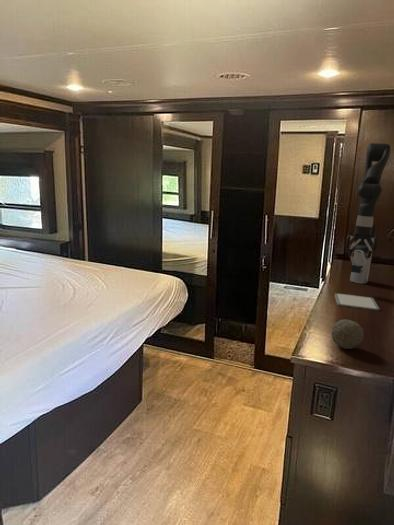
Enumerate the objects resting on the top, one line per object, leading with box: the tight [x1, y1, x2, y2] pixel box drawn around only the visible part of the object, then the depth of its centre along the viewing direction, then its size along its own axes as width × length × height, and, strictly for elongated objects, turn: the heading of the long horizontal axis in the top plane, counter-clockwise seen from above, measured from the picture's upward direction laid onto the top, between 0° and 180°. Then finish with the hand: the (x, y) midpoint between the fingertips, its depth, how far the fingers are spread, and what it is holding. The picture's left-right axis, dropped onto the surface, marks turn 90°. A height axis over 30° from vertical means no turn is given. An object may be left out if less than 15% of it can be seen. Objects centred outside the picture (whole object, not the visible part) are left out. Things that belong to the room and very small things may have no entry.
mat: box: [334, 292, 381, 312], centre depth 187 cm, size 18×18×1 cm
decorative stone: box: [331, 318, 365, 350], centre depth 136 cm, size 10×8×10 cm
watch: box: [349, 249, 368, 273], centre depth 199 cm, size 6×8×11 cm
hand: (359, 257), depth 198 cm, fingers closed on watch, 8 cm apart
